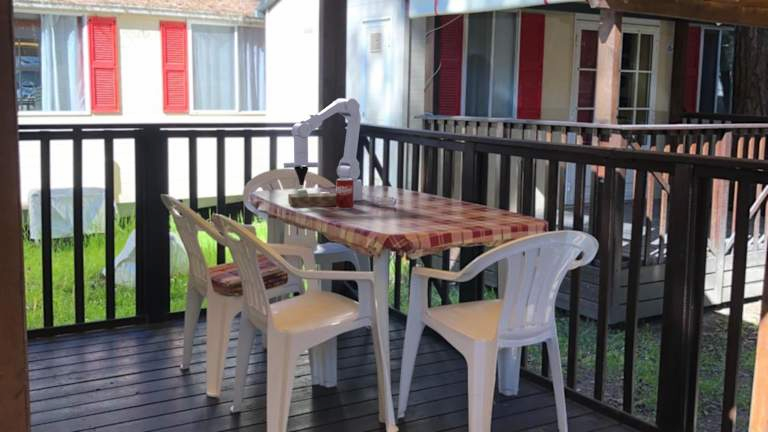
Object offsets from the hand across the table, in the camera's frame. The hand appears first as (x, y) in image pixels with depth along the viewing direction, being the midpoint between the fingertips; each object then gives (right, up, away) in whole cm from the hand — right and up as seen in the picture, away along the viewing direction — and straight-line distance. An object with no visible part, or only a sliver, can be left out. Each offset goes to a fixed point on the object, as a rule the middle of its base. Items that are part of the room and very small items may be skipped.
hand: (301, 184), depth 347 cm
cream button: (+10, -7, +4) cm, 13 cm away
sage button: (0, -6, +1) cm, 6 cm away
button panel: (+5, -8, +3) cm, 10 cm away
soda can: (+19, -10, -7) cm, 22 cm away
